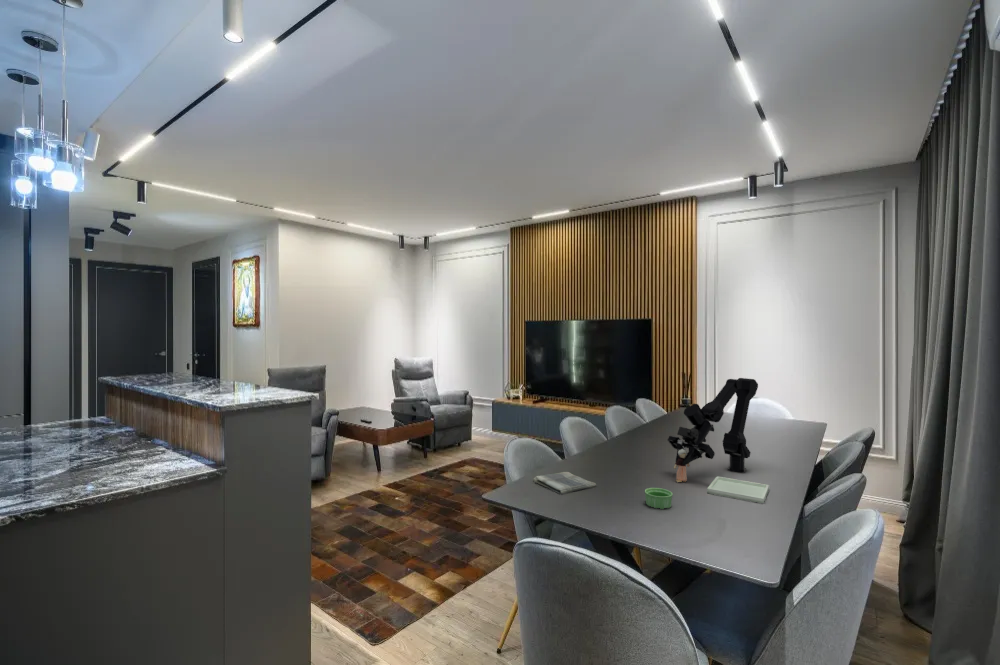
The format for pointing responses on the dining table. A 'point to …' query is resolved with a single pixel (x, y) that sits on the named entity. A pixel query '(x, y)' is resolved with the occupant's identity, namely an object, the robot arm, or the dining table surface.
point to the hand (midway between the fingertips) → (679, 463)
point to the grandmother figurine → (681, 466)
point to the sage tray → (739, 489)
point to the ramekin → (658, 498)
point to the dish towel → (563, 482)
